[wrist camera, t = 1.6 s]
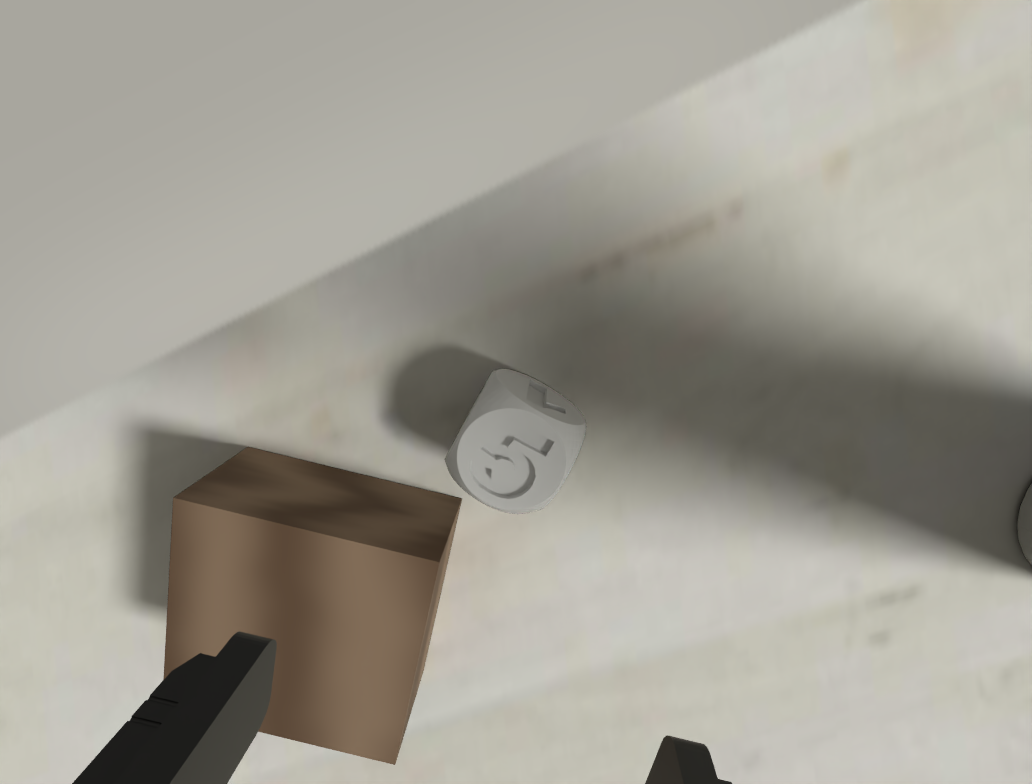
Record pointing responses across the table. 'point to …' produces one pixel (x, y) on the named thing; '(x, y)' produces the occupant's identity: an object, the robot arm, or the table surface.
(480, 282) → the table surface
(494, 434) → the die
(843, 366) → the table surface
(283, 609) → the pedestal
